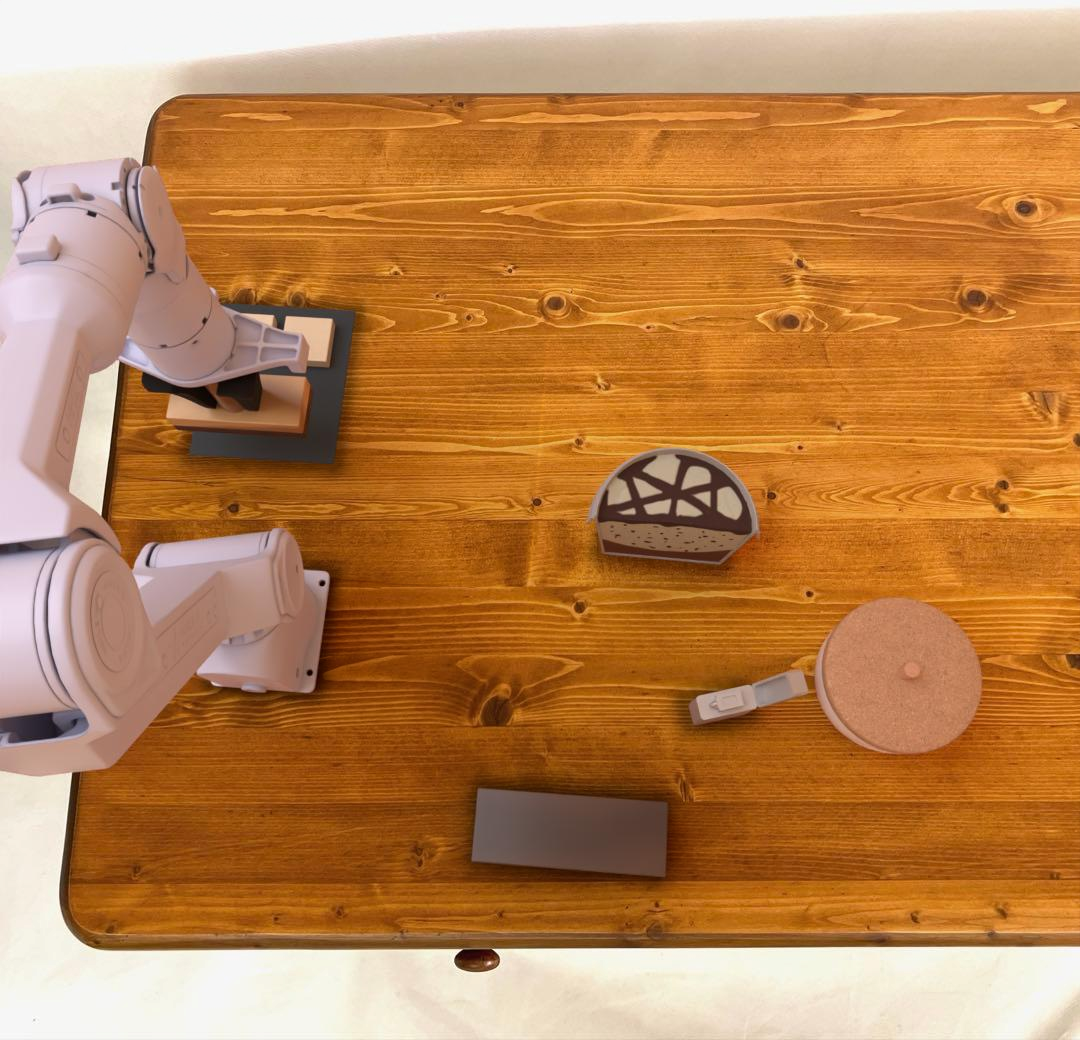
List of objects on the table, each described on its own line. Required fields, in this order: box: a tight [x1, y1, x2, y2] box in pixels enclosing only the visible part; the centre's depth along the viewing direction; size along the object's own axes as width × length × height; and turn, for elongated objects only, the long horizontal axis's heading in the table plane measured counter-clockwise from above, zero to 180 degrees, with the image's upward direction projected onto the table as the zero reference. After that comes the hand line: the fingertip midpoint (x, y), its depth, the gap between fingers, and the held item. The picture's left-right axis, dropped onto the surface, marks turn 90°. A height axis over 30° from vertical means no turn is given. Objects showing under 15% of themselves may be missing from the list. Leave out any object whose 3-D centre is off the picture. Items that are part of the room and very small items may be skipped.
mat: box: [188, 302, 356, 465], centre depth 82 cm, size 14×12×1 cm
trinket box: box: [813, 596, 983, 755], centre depth 70 cm, size 11×11×9 cm
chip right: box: [284, 316, 335, 367], centre depth 82 cm, size 4×4×1 cm
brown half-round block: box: [586, 446, 761, 566], centre depth 73 cm, size 12×6×10 cm, turn 84°
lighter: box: [687, 669, 809, 726], centre depth 70 cm, size 7×2×8 cm, turn 102°
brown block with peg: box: [165, 374, 313, 438], centre depth 72 cm, size 4×10×8 cm, turn 86°
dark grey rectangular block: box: [470, 787, 669, 878], centre depth 69 cm, size 5×13×6 cm, turn 86°
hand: (235, 397), depth 73 cm, fingers closed on brown block with peg, 2 cm apart
